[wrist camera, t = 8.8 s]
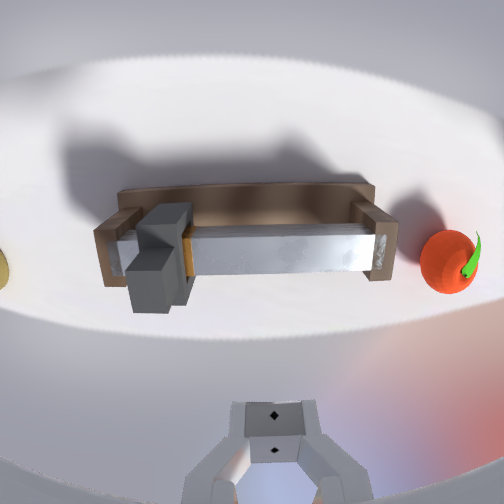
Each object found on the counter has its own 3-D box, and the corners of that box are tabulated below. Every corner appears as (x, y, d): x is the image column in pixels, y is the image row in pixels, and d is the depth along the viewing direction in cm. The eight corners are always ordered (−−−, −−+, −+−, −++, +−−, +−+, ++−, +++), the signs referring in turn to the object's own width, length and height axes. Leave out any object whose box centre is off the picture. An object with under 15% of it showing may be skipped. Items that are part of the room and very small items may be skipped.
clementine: (437, 202, 31) (473, 221, 25) (470, 232, 33) (505, 255, 26) (398, 260, 34) (427, 290, 27) (435, 285, 35) (463, 315, 29)
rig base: (369, 183, 31) (406, 203, 23) (363, 257, 34) (393, 295, 26) (122, 190, 31) (85, 212, 23) (132, 262, 34) (103, 301, 26)
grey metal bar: (373, 222, 27) (386, 234, 24) (370, 255, 28) (382, 270, 25) (119, 229, 27) (105, 241, 24) (124, 261, 28) (112, 276, 25)
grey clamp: (192, 202, 28) (162, 243, 18) (197, 269, 30) (176, 335, 20) (158, 203, 28) (115, 245, 18) (166, 270, 30) (134, 333, 20)
